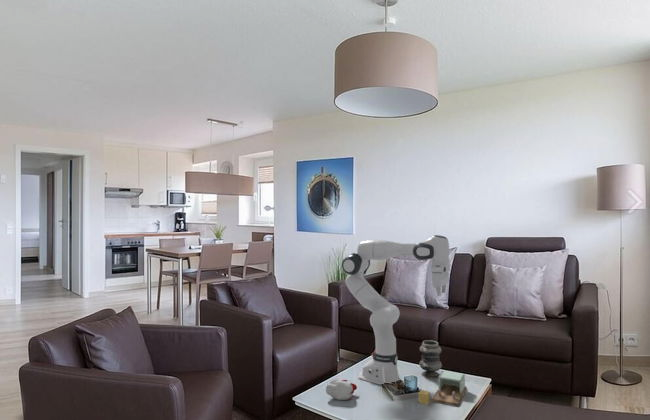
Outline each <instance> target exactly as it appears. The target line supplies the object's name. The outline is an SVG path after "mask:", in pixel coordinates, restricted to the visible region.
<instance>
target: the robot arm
mask: <svg viewBox="0 0 650 420" xmlns="http://www.w3.org/2000/svg"><path fill="white" fill-rule="evenodd" d="M399 256H400V257H401V256H414V257H415V259H417V260H419V261H426V260H431V266H430V273H431V282H432V283H431V284H432V287H433V288H434V289H435V290H436V296H437V297H441V296H442V294H445V293H447V291H446V289H447V285H448V284H449V282H450V279H449V277H450V276H449V272H450V271H451V269H450V267H451V266H450V265H451V264H450V263H451V261H450V257H449V256H450V242H449V239H448V238H447V237H446V236H444V235H436V234H435V235H432V236H431V237H428V238H427V239H425V240H423V241H420V242H417V243H400V242H395V241H389V240H383V239H368V240H363V241H360V242H359V243H358V245H357V250H356V252H352V253H351V254H349V255H347V256H346V257H345V258H344V259H343V260H342V261H341V269H342V270H343V272H344V273H345V274H347V276H345V281H344V283H345V285H346V287H347V289H348V290H349V292H350V293H351V294H352V296H353V297H354V298H355V299H356V300H357V301H358V302H359V304H360V305H361V307H363V308H365V309H366V310H369V311H370V312H371V314H370V317H369V323H370V326H371V327H372V329H373V334H374V338H375V339H374V340H375V350H374V351H373V352H372V353H371V357H372V358H371V359H369V360H368V361H367V362H365V363H364V365H363V366H362V371H361V372H358V373H359V374H358V376H357V378H358V379H359V380H362V381H365V382H369V383H373V384H377V385H380V386H381V384H383V383H387V382H395V381H398V380H399V381H400V380H401V378H400V375H399V369H398V353H397V338H396V336H395V334H394V328H393V325H394V324H395V323H397V322H398V320H399V317H400V315H401V314H400V313H401V312H400V309H399V307H398V306H397V305H395V304H393V303H391V302H390V301H388V300H387V299H385V298H384V297H383V296H382V295H380V294H379V293H378V291H377V290H375V288H374V287H373V286H372V285H371V284H370V283H369V282H368V281H367V279H365V277H364V275H366V274H367V272H368V269H369V268H370V266H371V260H373V261H382V260H388V259H393V258H395V257H399ZM399 381H398V382H399ZM395 383H396V382H395ZM383 385H384V384H383Z"/></svg>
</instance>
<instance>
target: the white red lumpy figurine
mask: <svg viewBox="0 0 650 420" xmlns="http://www.w3.org/2000/svg"><path fill="white" fill-rule="evenodd" d="M357 389H358V387H357V385H356V384H355V383H352V382H349V381H348V380H347V379H342V380H340V379H339V378H338V379H336V378H335V379H332V380H331V381H330V383H328V384H327V385H326V386H325V393H326V394H327V395H328V396H330V397H331V398H332V399H334V400H338V401H348V400H351V398H352V397H353V394H354V393H355V391H356V390H357Z"/></svg>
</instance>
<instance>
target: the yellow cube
mask: <svg viewBox="0 0 650 420" xmlns="http://www.w3.org/2000/svg"><path fill="white" fill-rule="evenodd" d="M430 395H431V393H430V391H429V390H423V389H421V390H420V391H419V392H418V403H419V404H425V405H428V404H429V403H430Z"/></svg>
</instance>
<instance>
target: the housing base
mask: <svg viewBox="0 0 650 420" xmlns="http://www.w3.org/2000/svg"><path fill="white" fill-rule="evenodd" d="M466 391H467V386H466V385H465V388H464V390H463V392H462V393H460V387H459V386H453V385H448V384H444V385H443V386H442V388H441V389H439V388H438V389H437V390H436V392H435V393H434V395H433V396H432V398H431V402H432V403H433V402H435V403H438V404H445V405H450V406H456V407H459V405H460V403H461V400H462V399H463V397H464V395H465V393H466Z"/></svg>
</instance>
